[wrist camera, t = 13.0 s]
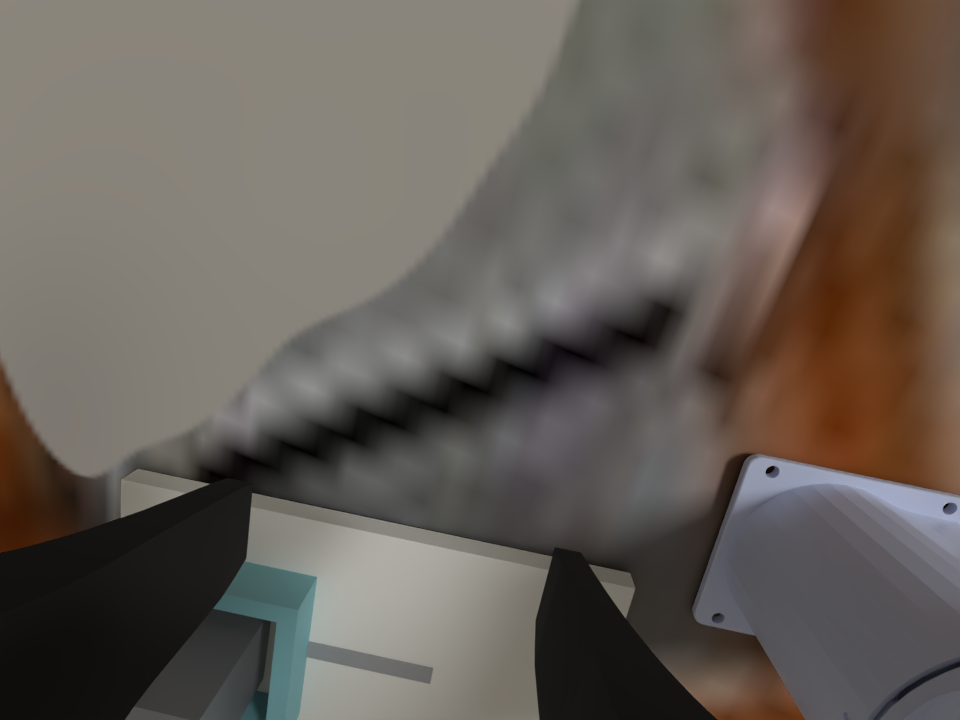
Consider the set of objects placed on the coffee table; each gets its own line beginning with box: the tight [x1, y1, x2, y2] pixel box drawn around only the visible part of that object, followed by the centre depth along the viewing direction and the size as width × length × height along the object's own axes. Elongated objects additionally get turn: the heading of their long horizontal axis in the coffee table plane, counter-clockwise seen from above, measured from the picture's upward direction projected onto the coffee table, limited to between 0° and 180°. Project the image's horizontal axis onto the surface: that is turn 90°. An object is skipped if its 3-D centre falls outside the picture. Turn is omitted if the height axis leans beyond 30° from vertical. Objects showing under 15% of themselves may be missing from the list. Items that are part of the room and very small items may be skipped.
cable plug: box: [125, 609, 271, 720], centre depth 20 cm, size 4×4×6 cm
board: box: [121, 469, 635, 720], centre depth 23 cm, size 22×13×3 cm, turn 79°
